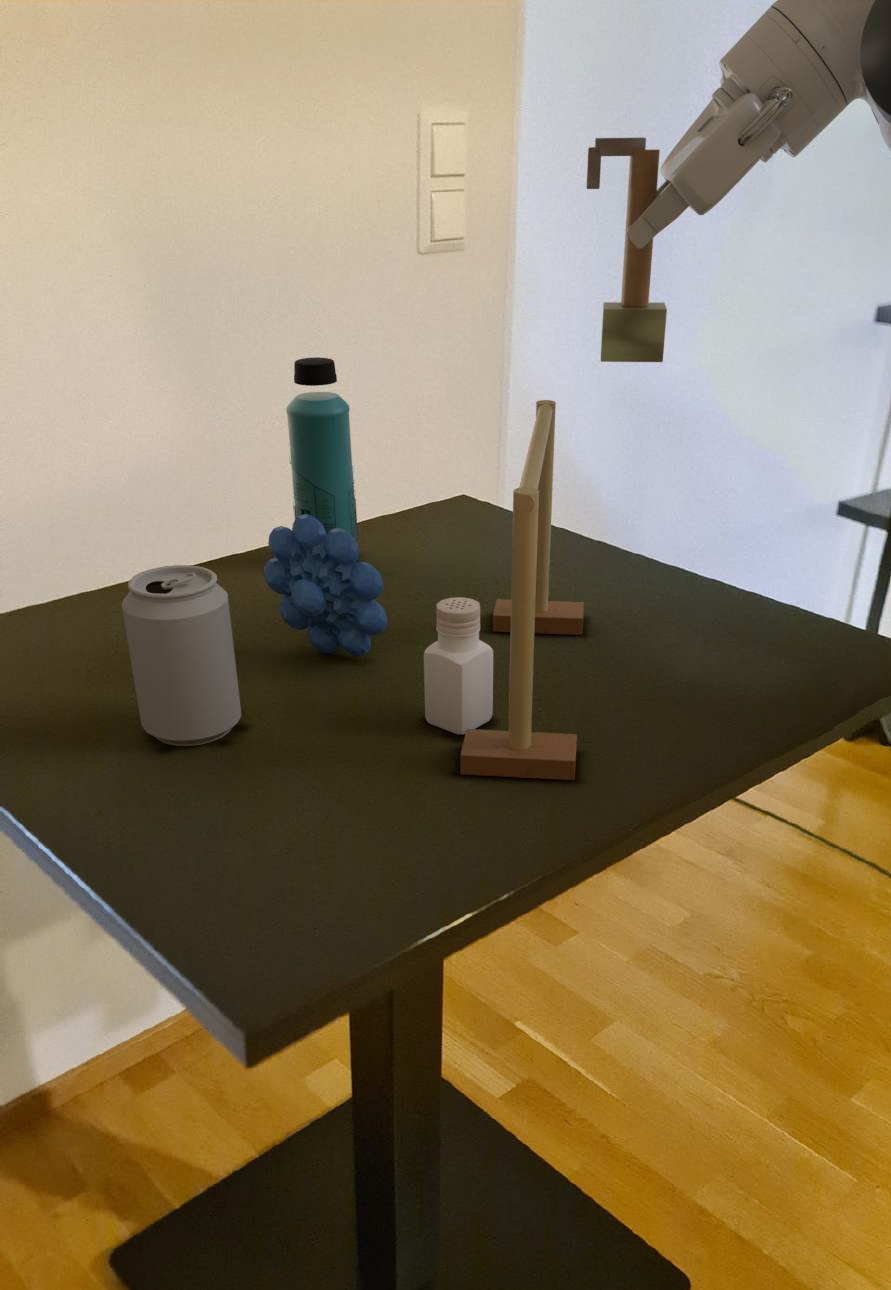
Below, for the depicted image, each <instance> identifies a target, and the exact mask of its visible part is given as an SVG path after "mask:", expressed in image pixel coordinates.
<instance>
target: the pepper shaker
mask: <svg viewBox="0 0 891 1290" xmlns="http://www.w3.org/2000/svg"><path fill="white" fill-rule="evenodd" d="M435 610H436V611H435V612H436V627H435V628H436V631H437V640H436V641H434V642H433V643H431V644H430V645H429V646H427V647H426V649H425V650H424V651H423V682H424V687H423V688H424V717H425V720H426V723H428V724H430V725H433V726H435V727H437V728H440V729H443V730H446V731H448V732H451V733H452V734H456V735H465V733H466V730H467V729H477V728H479V727H481V726H483V725H484V724H486V723H488V722H489V721H490V720H491V719H492V717H493V714H494V712H493V711H494V710H493V709H494V703H493V702H494V649H493V648H492V647H491V646H490V645H489V644H488V643H486V642H484V641H483V640H481V639H480V631H481V605H480V602H479V601H477V600H475V599H473V598H468V597H462V596H458V597H457V596H456V597H448V598H444V599H440V601H438V602H437V603H436V609H435Z"/></svg>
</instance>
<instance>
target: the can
mask: <svg viewBox="0 0 891 1290" xmlns="http://www.w3.org/2000/svg"><path fill="white" fill-rule="evenodd" d="M217 582H218V576H217V574H216V573H215V572H214V571H213V570H211V569H209V568H206V567H203V566H197V565H192V564H191V565H189V564H188V565H187V564H175V565H164V566H158V567H153V568H149V569H146V570H143V571H141V572H139V573H137V574H134V575H133V576H132V577H131V578H130V579H129V581H127V589H128V590H129V592H128V593H127V595H126V596H125V597H124V598H123V600H122V602H121V611H122V618H123V623H124V628H125V629H124V630H125V634H126V641H127V648H128V652H129V653H128V654H129V660H130V665H131V670H132V671H131V672H132V677H133V683H134V689H135V695H136V700H137V706H138V712H139V719H140V725H141V727H142V729H143V730H144V731H145V732H146V734H149V735H151V736H152V737H155V738H156V739H157V740H158V741H159V742H162V743H164V744H167V745H171V746H178V747H191V746H192V747H193V746H201V745H204V744H209V743H212V742H214V741H218V740H220V739H222V738H224V736H225V737H226V735H227V734H229V733H230V731H231V730H232V728H234V727H235V726H236V725H237V724H238V723H239V722H240V720H241V718H242V717H243V716H242V706H241V698H240V697H241V696H240V688H239V681H238V674H237V664H236V654H235V648H234V647H235V645H234V637H233V629H232V621H231V613H230V612H231V611H230V603H229V595H228V592H227V591H226V590H225V589H224V588H223V587H222V586H220V585H219V584H218V583H217Z"/></svg>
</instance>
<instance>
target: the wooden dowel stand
mask: <svg viewBox="0 0 891 1290" xmlns="http://www.w3.org/2000/svg"><path fill="white" fill-rule="evenodd" d="M556 405H557V403H556V401H555V400H550V399H540V400H536V402H535V421H534V425H533V429H532V432H531V433H532V434H531V437H530V442H529V445H528V449H527V453H526V458H525V460H524V461H525V462H524V466H523V470H522V475H521V478H520V482H519V485H518V486H519V487H517V488H514V489H513V491H512V533H511V536H512V537H511V539H512V540H511V542H512V543H511V583H510V584H511V585H510V587H511V588H510V589H511V590H510V591H511V592H510V599H504V598H503V599H502V598H497V599H496V601H495V606H494V608H493V609H494V610H493V615H492V632H493V633H510V635H509V636H510V640H509V686H508V689H509V690H508V693H509V694H508V730H497V729H496V730H495V729H493V730H492V729H477V728H475V729H467V730H466V733H465V734H464V737H463V742H462V746H461V751H460V755H459V761H460V763H459V764H460V765H459V767H460V769H459V774H460V775H465V776H482V777H484V776H485V777H502V778H503V777H504V778H523V779H541V780H559V781H575V779H576V764H577V763H576V762H577V743H578V735H577V734H575V733H557V732H553V733H552V732H537V731H536V732H535V731H532V723H533V694H534V693H533V691H534V690H533V689H534V657H535V634H542V635H543V634H546V635H547V634H548V635H570V636H572V635H573V636H574V635H575V636H582V635H583V631H584V630H583V629H584V613H585V612H584V611H585V610H584V609H585V602H584V601H564V600H563V601H562V600H561V601H559V600H549V593H550V592H549V589H550V565H551V564H550V563H551V560H550V559H551V542H552V541H551V540H552V539H551V535H552V514H553V513H552V509H553V486H554V485H553V483H554V459H555V458H554V456H555V432H556V407H557V406H556Z"/></svg>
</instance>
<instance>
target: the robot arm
mask: <svg viewBox="0 0 891 1290" xmlns="http://www.w3.org/2000/svg"><path fill="white" fill-rule="evenodd" d="M718 64H719V67H720V70H721V78H720V80H719V82H720V87H718V88H717V89H716V90H715V91H714V92H713V93H712V94H711V98H712V99H711V100H710V101H709V102H708V104H707V105H706V106H705V108H703V111H701V113H700V114H699V115H698V116H697V118H696V119H695V120H694V122H693V123H692V124H691V125H690V127H689V128H688V129H687V131H685V133H684V134H683V136H682V137H681V138H680V139H679V141H678V142H677V143H676V144H675V146H674V148H673V149H672V150H671V151H670V152H669V154H668V155H667V156H666V158H665V160H663V163H662V164H661V166H660V168H659V173H660V175H661V176H662V178H663V179H664V180H665V181H663V182H662V184H661V185H659V187H657V194H656V199H655V200H654V201H653V202H652V203H651V205H650V206H649V207H648V208H647V209H646V210H645V211H644V213H643V214H641V215H640V216H639V217H638V218H637V219H636V220H635V222H634V223H633V224H632V225H631V226H630V227H629V228H628V230H627V236H628V238H629V239H630V240H631V241H632V243H633V244H634V245H635V246H636V247H637V248H640V249H642V248H644V247H645V246H646V245H647V244H648V243H649V242H650V241H651V240H652V239H653V240H654V238H655V237H656V236H657V235H658V234H659V233H660V232H662V231H663V230H664V229H665V228H667V227H668V226H669V225H671V224H672V223H673V222H674V221H676V220H677V219H678V218H679V217H680V216H681V215H682V214H683V213H684V212H685V211H686V210H687V209H688V208H690V209H691V210H692V211H694V212H695V213H696V214H697V215H698V216H705V214H707V213H708V212H710V211H711V210H712V209H713V208H714V207H716V206H717V205H718V204H719V203H720V202H721V201H722V200H723V199H724V198H725V196H727V195H728V194H729V192H730V191H732V190H733V188H734V187H736V186H737V184H738V183H739V182H740V181H741V180H742V179H743V178H744V177H745V176H746V175H747V174H749V172H750V171H751V170H752V169H753V168H754V167H755V166H756V164H757V163H758V162H760V161H761V162H763V163H767V162H768V161H770V159H771V158H772V157H774V155H775V154H777V152H779V150H782V151H784V152H785V153H786V154H787V155H788V156H790V157H791V158H796V157H797V156H798V155H799V154H801V152H802V151H804V149H805V148H806V147H808V146H809V144H811V142H812V141H814V139H815V138H817V137H818V135H820V134H821V133H822V132H823V131H824V130H825V129H826V128H827V127H828V126H829V125H830V124H831V123H832V122H833V121H834V120H835V119H837V117H838V116H839V115H840V114H841V113H842V112H843V111H844V110H845V109H846V108H847V107H848V106H849V105H850V104H851V103H852V102H853V101H854V100H859V99H860V100H863V101H865V103H866V104H867V105H868V106H869V107H870V109H871V112H872V114H873V117H874V119H875V121H876V123H877V124H878V127H879V131H880V134H881V137H882V139H883V140H884V143H885V144H886V146H887V149H889V151H890V152H891V0H776V1H775V2H773V3H772V5H770V6H769V8H767V10H765V12H764V13H763V14H762V15H761V16H760V17H759V18H758V19H757V20H756V21H755V22H754V23H753V24H752V26H751V27H750V28H749V29H748V30H747V31H746V32H745V33H744V34H743V35H742V36H741V37H740V38H739V39H738V40H737V42H736V43H735V44H734V45H733V46H731V48H730V49H729V50H728V52H726V53H725V54H724V56H723V57H722V58H720V60H719V61H718Z"/></svg>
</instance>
